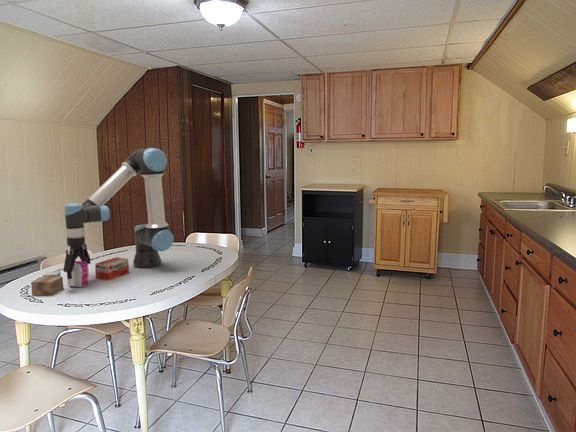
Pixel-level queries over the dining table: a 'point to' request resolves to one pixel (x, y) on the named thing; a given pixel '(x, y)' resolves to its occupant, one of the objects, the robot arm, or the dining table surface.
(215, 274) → the dining table surface
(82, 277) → the supplement box
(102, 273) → the medicine box
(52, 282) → the brown cardboard box
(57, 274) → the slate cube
